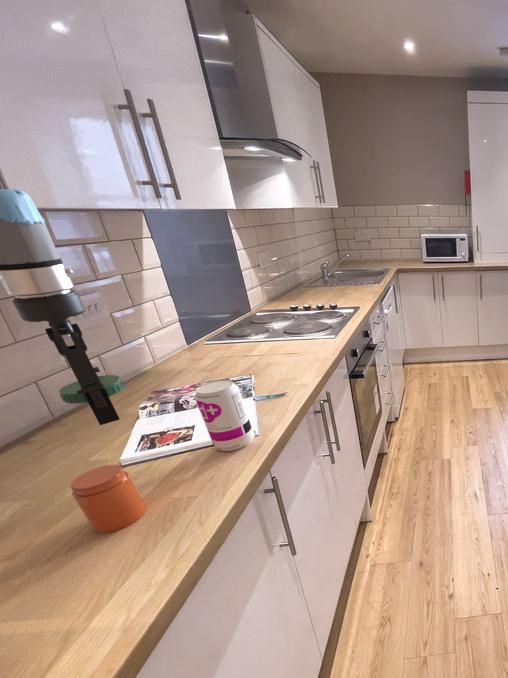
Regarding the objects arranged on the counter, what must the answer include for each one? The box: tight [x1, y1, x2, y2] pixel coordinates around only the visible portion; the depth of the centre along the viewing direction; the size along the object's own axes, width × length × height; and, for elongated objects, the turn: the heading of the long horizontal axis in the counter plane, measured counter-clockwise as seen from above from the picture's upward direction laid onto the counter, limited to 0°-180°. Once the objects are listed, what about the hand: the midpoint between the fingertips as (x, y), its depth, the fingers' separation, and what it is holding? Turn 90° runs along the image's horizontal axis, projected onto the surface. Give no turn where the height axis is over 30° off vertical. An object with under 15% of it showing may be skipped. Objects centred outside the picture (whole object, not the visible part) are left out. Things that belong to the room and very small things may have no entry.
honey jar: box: [70, 464, 147, 534], centre depth 73 cm, size 7×7×10 cm
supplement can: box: [194, 379, 255, 452], centre depth 94 cm, size 8×8×15 cm
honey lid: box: [58, 374, 125, 405], centre depth 74 cm, size 8×8×2 cm
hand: (106, 413), depth 77 cm, fingers closed on honey lid, 8 cm apart
